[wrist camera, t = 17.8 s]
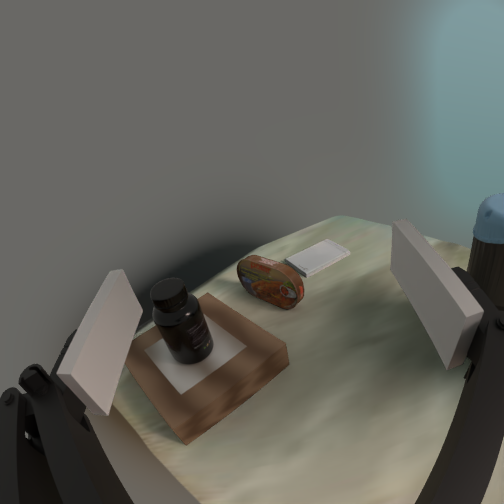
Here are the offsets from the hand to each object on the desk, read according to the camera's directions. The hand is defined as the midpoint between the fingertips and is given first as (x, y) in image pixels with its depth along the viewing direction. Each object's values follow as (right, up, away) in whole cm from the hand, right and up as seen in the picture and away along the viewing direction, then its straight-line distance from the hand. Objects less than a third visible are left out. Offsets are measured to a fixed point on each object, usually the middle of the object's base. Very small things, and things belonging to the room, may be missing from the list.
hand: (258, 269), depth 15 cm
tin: (+4, -8, +47) cm, 48 cm away
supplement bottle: (-9, -14, +31) cm, 35 cm away
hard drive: (+15, -1, +56) cm, 58 cm away
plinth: (-8, -18, +34) cm, 39 cm away
